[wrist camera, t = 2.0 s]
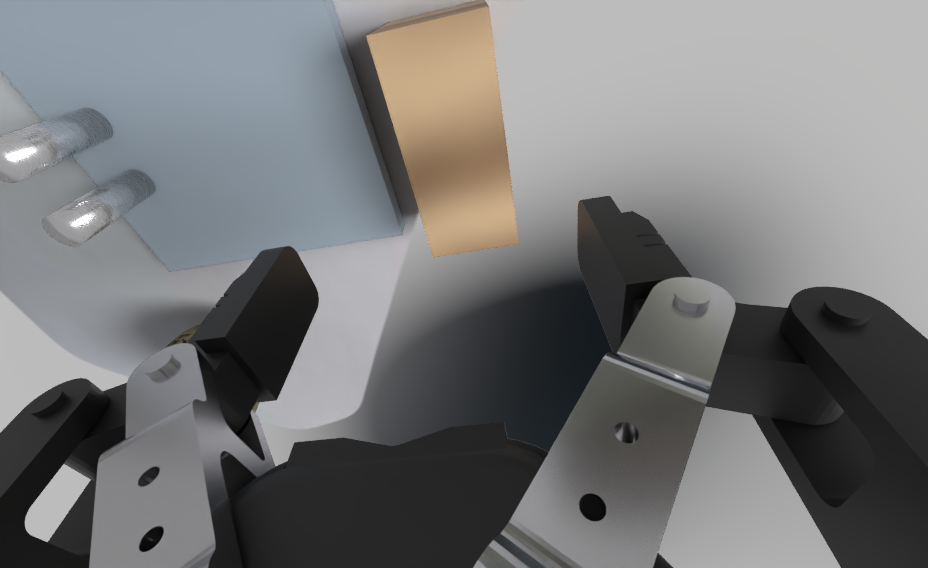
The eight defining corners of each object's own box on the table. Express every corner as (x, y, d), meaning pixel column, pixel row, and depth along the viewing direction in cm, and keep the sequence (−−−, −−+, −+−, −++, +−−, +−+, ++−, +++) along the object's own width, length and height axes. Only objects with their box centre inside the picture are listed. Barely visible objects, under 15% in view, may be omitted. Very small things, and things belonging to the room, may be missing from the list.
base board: (298, -103, 15) (287, -108, 14) (404, 224, 24) (402, 235, 23) (-36, -9, 17) (-66, -9, 16) (180, 261, 26) (169, 271, 25)
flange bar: (388, 22, 18) (366, 35, 14) (483, -2, 17) (488, 6, 13) (438, 211, 24) (433, 257, 20) (510, 198, 23) (518, 243, 20)
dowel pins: (96, 104, 19) (-5, 140, 15) (161, 193, 22) (92, 243, 18) (68, 111, 19) (-39, 147, 15) (137, 198, 22) (62, 248, 18)
